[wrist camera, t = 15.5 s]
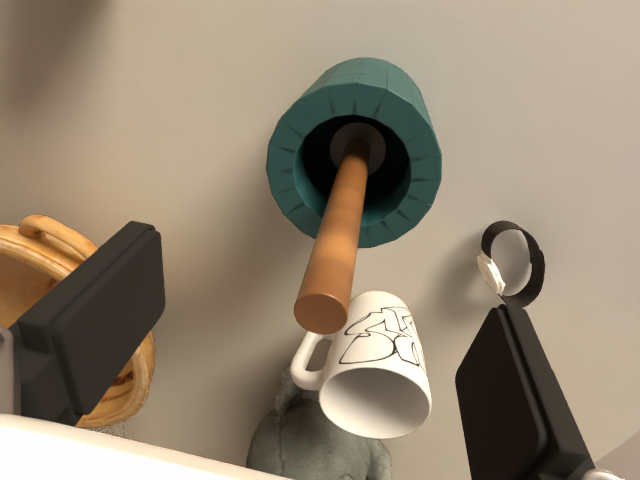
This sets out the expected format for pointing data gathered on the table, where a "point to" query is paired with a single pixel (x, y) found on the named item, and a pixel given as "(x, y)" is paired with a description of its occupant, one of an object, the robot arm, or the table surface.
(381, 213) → the teal hollow cylinder
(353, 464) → the stuffed elephant
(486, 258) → the watch
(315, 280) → the brush
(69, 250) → the ceramic bowl
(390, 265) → the table surface
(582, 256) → the table surface
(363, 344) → the mug
